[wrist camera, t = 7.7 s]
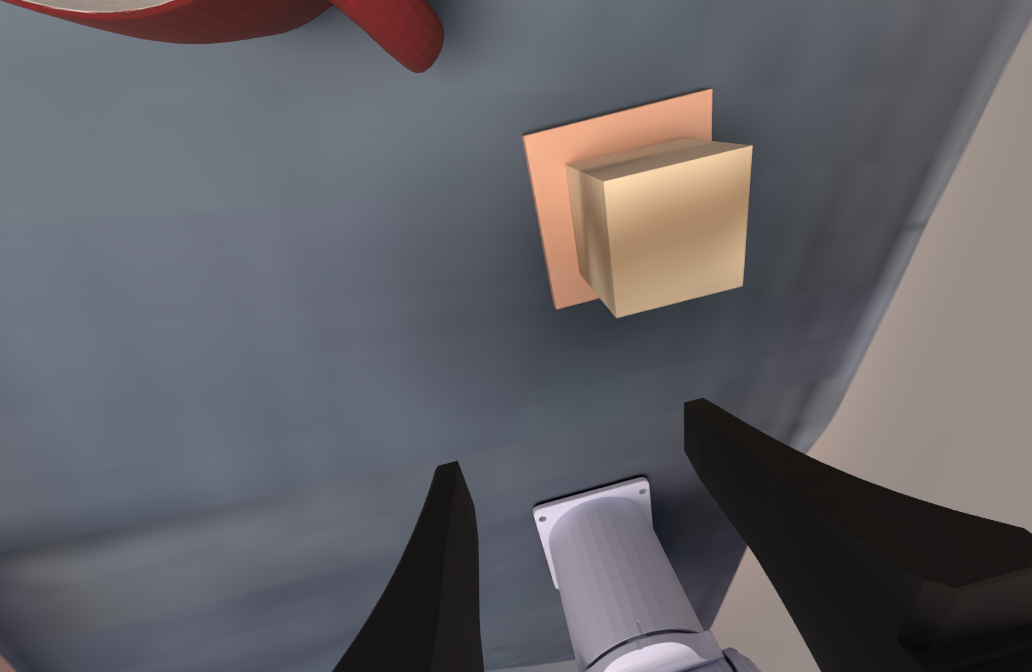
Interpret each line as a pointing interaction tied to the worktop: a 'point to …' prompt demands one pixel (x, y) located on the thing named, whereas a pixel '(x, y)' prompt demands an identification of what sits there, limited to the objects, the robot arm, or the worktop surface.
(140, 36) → the mug
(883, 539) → the robot arm
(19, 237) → the worktop surface
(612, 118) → the coaster
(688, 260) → the block
